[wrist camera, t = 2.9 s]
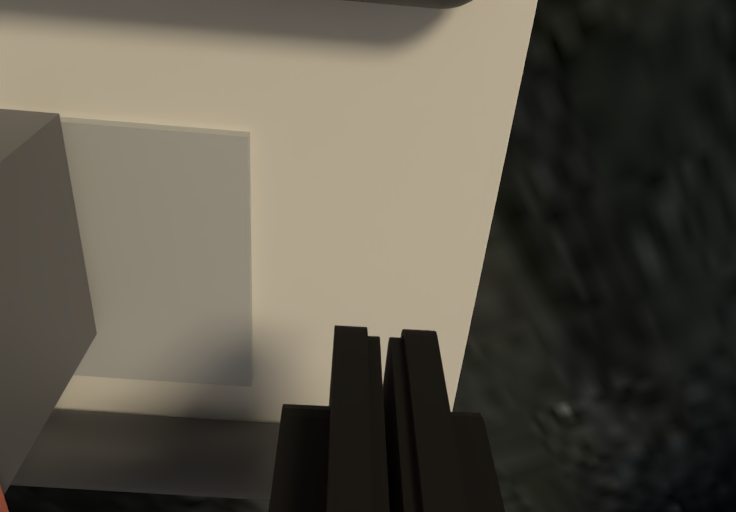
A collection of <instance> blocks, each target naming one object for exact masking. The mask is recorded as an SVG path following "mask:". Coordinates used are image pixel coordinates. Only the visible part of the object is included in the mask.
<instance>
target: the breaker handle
mask: <svg viewBox="0 0 736 512" xmlns="http://www.w3.org/2000/svg"><path fill="white" fill-rule="evenodd" d="M96 334H97V331H96V326H95V320H94V314H93V308H92V302H91V296H90V290H89V285H88V279H87V273H86V267H85V261H84V255H83V250H82V244H81V238H80V232H79V226H78V220H77V214H76V209H75V203H74V197H73V191H72V185H71V179H70V173H69V168H68V162H67V156H66V150H65V144H64V138H63V132H62V127H61V121H60V115H59V113H47V112H35V111H23V110H10V109H0V512H9V511H8V508H7V504H6V501H5V498H4V494H5V493H6V491H7V489H8V487H9V486H10V484H11V482H12V480H13V479H14V477H15V475H16V473H17V472H18V470H19V468H20V467H21V465H22V463H23V461H24V460H25V458H26V456H27V454H28V453H29V451H30V449H31V447H32V446H33V444H34V442H35V440H36V439H37V437H38V435H39V434H40V432H41V430H42V428H43V427H44V425H45V423H46V421H47V420H48V418H49V416H50V414H51V413H52V411H53V409H54V407H55V406H56V404H57V402H58V400H59V399H60V397H61V395H62V394H63V392H64V390H65V388H66V387H67V385H68V383H69V381H70V380H71V378H72V376H73V374H74V373H75V371H76V369H77V367H78V366H79V364H80V362H81V361H82V359H83V357H84V355H85V354H86V352H87V350H88V348H89V347H90V345H91V343H92V341H93V340H94V338H95V336H96Z"/></svg>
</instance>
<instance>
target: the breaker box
mask: <svg viewBox="0 0 736 512" xmlns="http://www.w3.org/2000/svg"><path fill="white" fill-rule="evenodd" d="M537 1H538V0H0V109H10V110H23V111H35V112H47V113H59V115H60V121H61V127H62V132H63V138H64V144H65V150H66V156H67V162H68V168H69V173H70V179H71V185H72V191H73V197H74V203H75V209H76V214H77V220H78V226H79V232H80V238H81V244H82V250H83V255H84V261H85V267H86V273H87V279H88V285H89V290H90V296H91V302H92V308H93V314H94V320H95V326H96V331H97V334H96V336H95V338H94V340H93V341H92V343H91V345H90V347H89V348H88V350H87V352H86V354H85V355H84V357H83V359H82V361H81V362H80V364H79V366H78V367H77V369H76V371H75V373H74V374H73V376H72V378H71V380H70V381H69V383H68V385H67V387H66V388H65V390H64V392H63V394H62V395H61V397H60V399H59V400H58V402H57V404H56V406H55V407H54V409H53V411H52V413H51V414H50V416H49V418H48V420H47V421H46V423H45V425H44V427H43V428H42V430H41V432H40V434H39V435H38V437H37V439H36V440H35V442H34V444H33V446H32V447H31V449H30V451H29V453H28V454H27V456H26V458H25V460H24V461H23V463H22V465H21V467H20V468H19V470H18V472H17V473H16V475H15V477H14V479H13V480H12V482H11V484H10V485H18V486H35V487H52V488H69V489H86V490H103V491H120V492H137V493H154V494H171V495H188V496H205V497H222V498H239V499H256V500H270V497H271V489H272V481H273V474H274V466H275V458H276V450H277V443H278V435H279V427H280V419H281V412H282V406H283V404H296V405H317V406H329V396H330V382H331V368H332V354H333V340H334V327H335V325H339V326H358V327H367V329H368V336H379V337H380V346H381V364H382V382H383V380H384V372H385V364H386V356H387V349H388V341H389V338H390V337H399V338H400V337H401V332H402V330H403V329H413V330H431V331H436V333H437V336H438V342H439V348H440V354H441V359H442V365H443V371H444V376H445V382H446V388H447V394H448V399H449V405H450V411H451V412H452V409H453V405H454V400H455V395H456V390H457V385H458V381H459V376H460V371H461V366H462V361H463V357H464V352H465V347H466V342H467V337H468V333H469V328H470V323H471V318H472V313H473V309H474V304H475V299H476V294H477V289H478V285H479V280H480V275H481V270H482V265H483V260H484V256H485V251H486V246H487V241H488V236H489V232H490V227H491V222H492V217H493V212H494V208H495V203H496V198H497V193H498V188H499V184H500V179H501V174H502V169H503V164H504V160H505V155H506V150H507V145H508V140H509V136H510V131H511V126H512V121H513V116H514V112H515V107H516V102H517V97H518V92H519V88H520V83H521V78H522V73H523V68H524V64H525V59H526V54H527V49H528V44H529V40H530V35H531V30H532V25H533V20H534V16H535V11H536V6H537Z"/></svg>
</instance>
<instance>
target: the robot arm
mask: <svg viewBox="0 0 736 512" xmlns="http://www.w3.org/2000/svg"><path fill="white" fill-rule="evenodd" d="M269 512H505V510H504V506H503V501H502V497H501V493H500V488H499V484H498V480H497V475H496V471H495V467H494V462H493V458H492V454H491V449H490V445H489V441H488V436H487V432H486V428H485V424H484V421H483V418H482V416H481V414H480V413H467V412H451V411H450V405H449V399H448V394H447V388H446V382H445V376H444V371H443V365H442V359H441V354H440V348H439V342H438V336H437V333H436V331H431V330H413V329H403V330H402V332H401V337H400V338H399V337H390V338H389V341H388V349H387V356H386V364H385V372H384V380H383V382H382V364H381V346H380V337H379V336H368V329H367V327H358V326H339V325H335V327H334V340H333V354H332V368H331V382H330V396H329V406H317V405H296V404H283V406H282V412H281V419H280V427H279V435H278V443H277V450H276V458H275V466H274V474H273V481H272V489H271V497H270V505H269Z"/></svg>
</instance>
